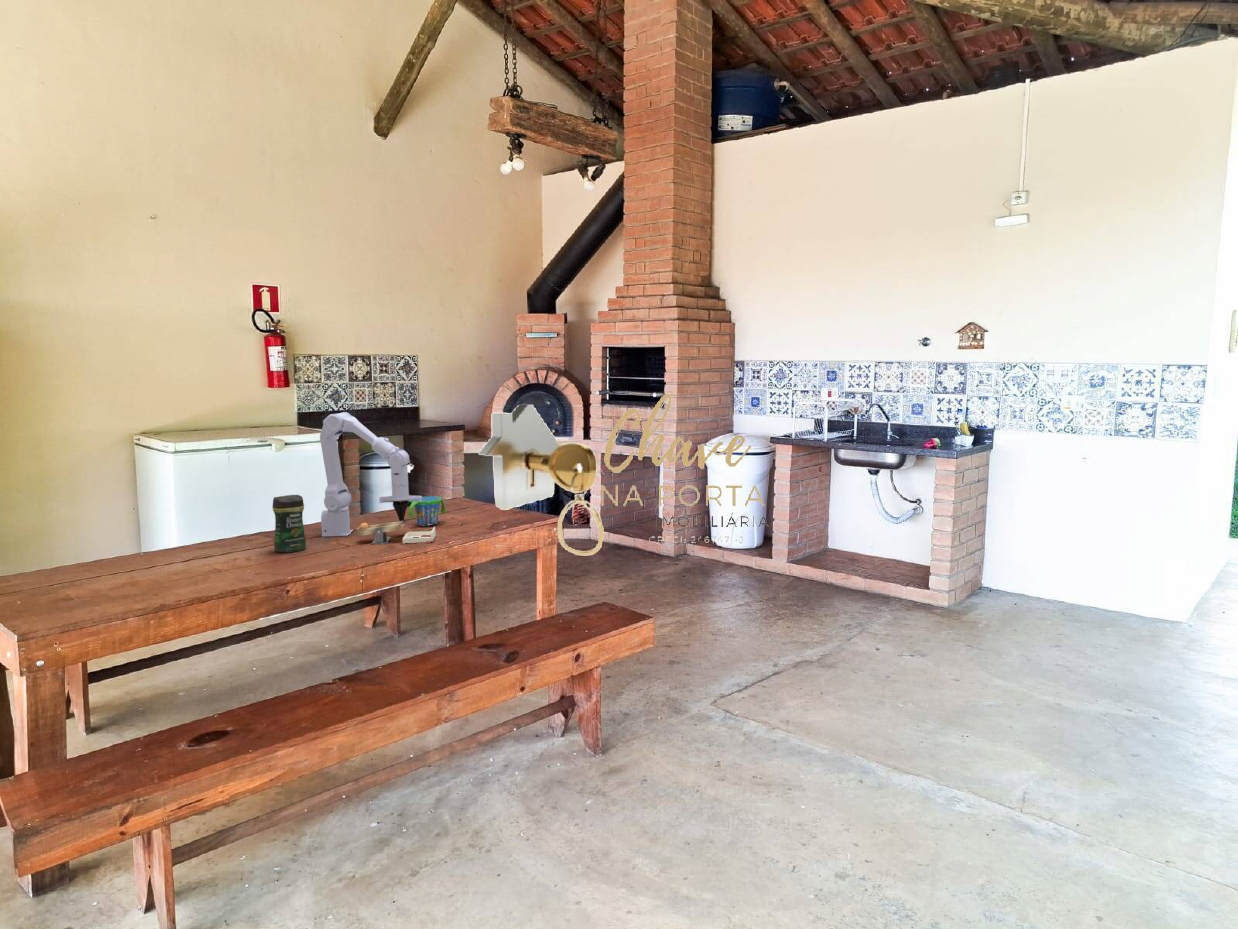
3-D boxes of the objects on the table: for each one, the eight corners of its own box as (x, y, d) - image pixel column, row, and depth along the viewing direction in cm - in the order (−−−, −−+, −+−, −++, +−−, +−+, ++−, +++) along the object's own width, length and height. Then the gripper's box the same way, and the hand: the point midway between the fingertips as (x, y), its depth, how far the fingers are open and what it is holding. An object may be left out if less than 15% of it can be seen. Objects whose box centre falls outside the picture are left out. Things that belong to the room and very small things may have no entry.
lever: (357, 536, 277) (356, 529, 277) (364, 528, 290) (363, 521, 289) (401, 529, 278) (400, 523, 278) (406, 521, 291) (405, 515, 291)
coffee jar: (280, 554, 263) (277, 499, 260) (271, 550, 269) (268, 495, 266) (310, 549, 269) (306, 495, 267) (300, 545, 275) (297, 492, 272)
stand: (371, 544, 276) (371, 530, 276) (376, 538, 285) (375, 524, 284) (386, 543, 277) (386, 529, 276) (390, 538, 286) (390, 524, 285)
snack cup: (438, 519, 316) (437, 494, 315) (452, 523, 309) (452, 497, 307) (402, 525, 305) (401, 499, 304) (416, 530, 298) (415, 503, 296)
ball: (359, 532, 278) (358, 524, 278) (361, 530, 281) (360, 522, 281) (368, 531, 279) (367, 523, 278) (370, 529, 281) (368, 521, 281)
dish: (402, 543, 277) (402, 534, 276) (406, 537, 287) (406, 527, 286) (432, 543, 278) (431, 533, 278) (435, 536, 288) (435, 526, 287)
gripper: (377, 487, 282) (379, 525, 284) (419, 485, 283) (421, 523, 285) (380, 483, 289) (382, 520, 291) (421, 482, 290) (423, 519, 292)
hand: (401, 521), depth 288 cm, fingers closed, pressing on lever
